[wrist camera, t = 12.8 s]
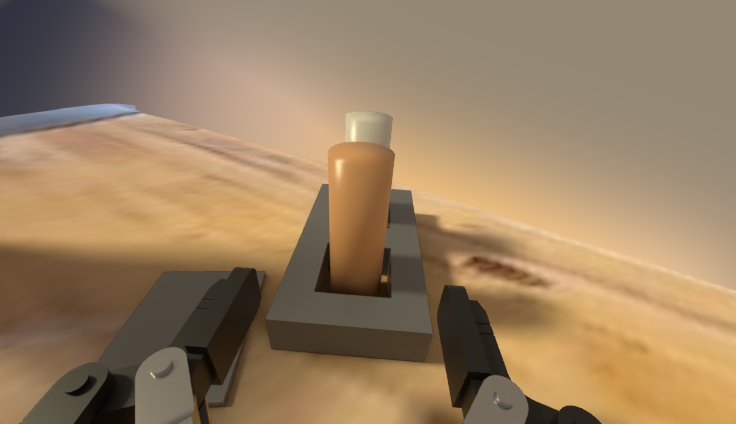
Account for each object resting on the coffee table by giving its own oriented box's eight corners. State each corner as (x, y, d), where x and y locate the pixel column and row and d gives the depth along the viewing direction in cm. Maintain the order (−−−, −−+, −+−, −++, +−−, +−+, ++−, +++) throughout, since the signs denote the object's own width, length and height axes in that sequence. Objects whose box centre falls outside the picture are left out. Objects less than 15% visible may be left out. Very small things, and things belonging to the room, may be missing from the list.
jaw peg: (326, 314, 21) (322, 163, 15) (334, 277, 24) (333, 139, 18) (377, 318, 21) (395, 168, 15) (379, 280, 24) (394, 144, 18)
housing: (271, 348, 19) (237, 184, 12) (323, 206, 34) (320, 99, 27) (424, 362, 18) (471, 203, 12) (407, 213, 34) (424, 107, 27)
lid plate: (71, 418, 15) (61, 409, 15) (168, 280, 24) (164, 271, 23) (226, 410, 16) (222, 402, 16) (266, 279, 24) (265, 271, 24)
